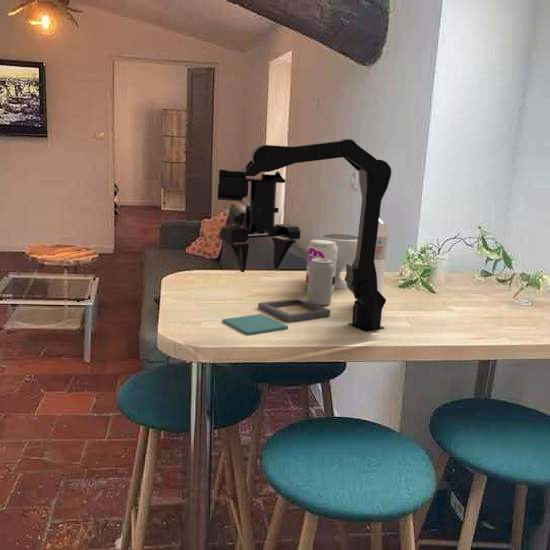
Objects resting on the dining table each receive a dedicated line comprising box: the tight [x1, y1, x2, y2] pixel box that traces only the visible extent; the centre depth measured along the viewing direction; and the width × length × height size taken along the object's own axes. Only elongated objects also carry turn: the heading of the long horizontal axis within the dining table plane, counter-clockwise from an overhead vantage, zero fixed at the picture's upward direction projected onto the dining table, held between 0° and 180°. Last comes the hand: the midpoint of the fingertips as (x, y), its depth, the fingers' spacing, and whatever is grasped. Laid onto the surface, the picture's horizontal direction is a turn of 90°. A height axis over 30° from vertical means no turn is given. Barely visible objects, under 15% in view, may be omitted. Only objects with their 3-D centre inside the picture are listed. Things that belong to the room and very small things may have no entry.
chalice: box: [318, 233, 358, 289], centre depth 188 cm, size 14×14×15 cm
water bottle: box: [355, 215, 389, 300], centre depth 166 cm, size 7×7×25 cm
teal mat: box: [222, 313, 289, 336], centre depth 145 cm, size 11×11×1 cm
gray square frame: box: [257, 297, 331, 323], centre depth 158 cm, size 13×13×2 cm
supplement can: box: [304, 238, 337, 295], centre depth 177 cm, size 8×8×15 cm
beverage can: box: [306, 258, 334, 307], centre depth 166 cm, size 6×6×12 cm
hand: (259, 270), depth 143 cm, fingers open, 9 cm apart
